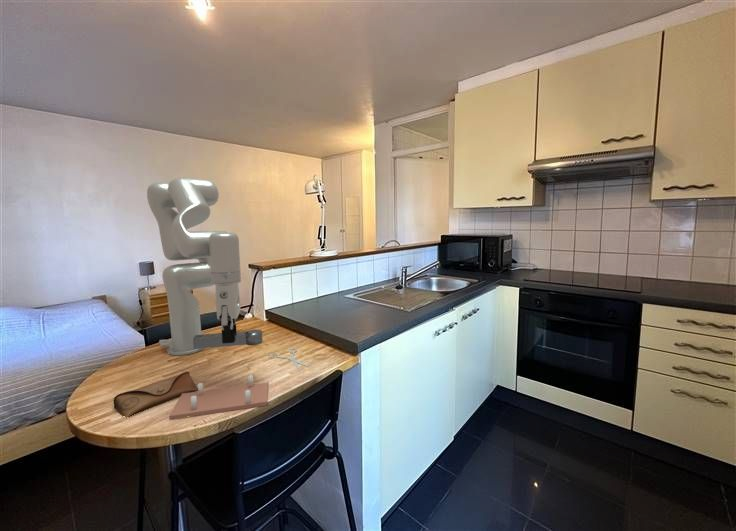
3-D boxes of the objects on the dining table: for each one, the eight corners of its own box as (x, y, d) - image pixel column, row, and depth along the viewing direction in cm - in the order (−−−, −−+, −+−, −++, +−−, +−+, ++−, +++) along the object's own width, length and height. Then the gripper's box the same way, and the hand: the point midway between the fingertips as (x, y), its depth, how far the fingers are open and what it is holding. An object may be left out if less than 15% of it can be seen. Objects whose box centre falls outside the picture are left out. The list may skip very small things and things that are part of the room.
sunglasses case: (123, 420, 73) (116, 392, 74) (117, 424, 77) (111, 397, 79) (202, 388, 87) (195, 366, 88) (194, 393, 91) (187, 371, 92)
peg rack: (169, 419, 73) (167, 404, 73) (182, 397, 83) (181, 383, 82) (266, 405, 79) (266, 390, 78) (268, 385, 88) (267, 372, 88)
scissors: (292, 346, 116) (321, 363, 101) (292, 348, 116) (321, 366, 101) (264, 354, 109) (291, 374, 94) (265, 356, 109) (292, 376, 94)
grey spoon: (192, 350, 84) (192, 340, 84) (197, 343, 89) (196, 333, 88) (262, 344, 89) (261, 334, 88) (263, 338, 94) (262, 328, 93)
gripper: (236, 282, 79) (240, 350, 82) (243, 271, 95) (246, 329, 97) (204, 283, 77) (209, 353, 80) (217, 272, 93) (220, 331, 95)
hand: (229, 339), depth 89 cm, fingers closed on grey spoon, 2 cm apart
